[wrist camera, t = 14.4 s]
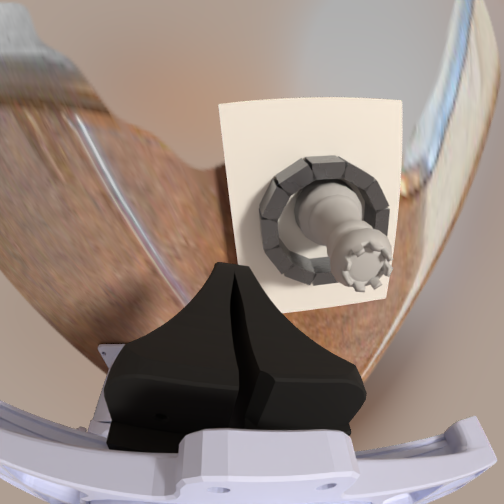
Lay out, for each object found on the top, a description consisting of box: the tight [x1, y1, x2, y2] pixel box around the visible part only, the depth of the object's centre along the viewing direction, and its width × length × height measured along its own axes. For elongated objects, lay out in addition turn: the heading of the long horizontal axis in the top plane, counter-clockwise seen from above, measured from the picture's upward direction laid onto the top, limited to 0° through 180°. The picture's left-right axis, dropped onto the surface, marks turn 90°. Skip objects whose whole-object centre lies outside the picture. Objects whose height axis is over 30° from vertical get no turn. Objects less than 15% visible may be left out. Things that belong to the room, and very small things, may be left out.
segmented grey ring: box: [259, 155, 390, 286], centre depth 20 cm, size 8×8×2 cm
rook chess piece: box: [294, 179, 393, 293], centre depth 17 cm, size 4×4×8 cm
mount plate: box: [218, 97, 402, 313], centre depth 21 cm, size 16×12×1 cm
